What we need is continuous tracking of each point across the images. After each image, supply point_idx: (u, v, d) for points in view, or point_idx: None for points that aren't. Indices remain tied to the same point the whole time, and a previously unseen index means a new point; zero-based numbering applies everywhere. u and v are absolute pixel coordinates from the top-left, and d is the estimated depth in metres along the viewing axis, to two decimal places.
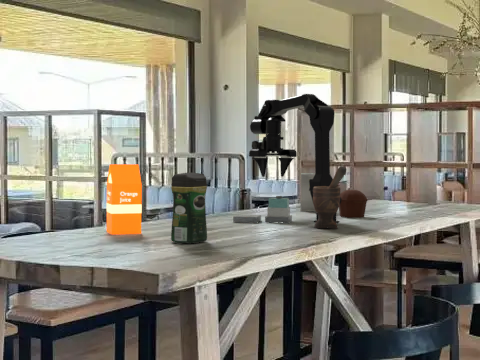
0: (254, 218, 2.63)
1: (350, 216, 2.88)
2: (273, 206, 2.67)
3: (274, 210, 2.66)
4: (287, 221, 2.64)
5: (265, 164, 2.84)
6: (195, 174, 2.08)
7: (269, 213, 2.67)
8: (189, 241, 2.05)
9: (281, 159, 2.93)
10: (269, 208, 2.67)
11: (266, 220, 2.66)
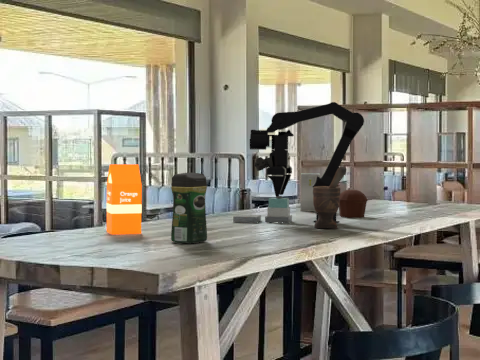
0: (254, 218, 2.63)
1: (350, 216, 2.88)
2: (273, 206, 2.67)
3: (274, 210, 2.66)
4: (287, 221, 2.64)
5: (283, 183, 2.62)
6: (195, 174, 2.08)
7: (269, 213, 2.67)
8: (189, 241, 2.05)
9: None
10: (269, 208, 2.67)
11: (266, 220, 2.66)
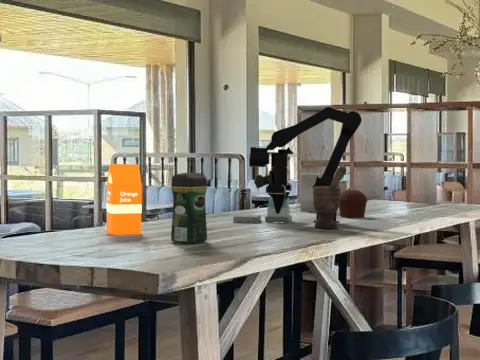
0: (254, 218, 2.63)
1: (350, 216, 2.88)
2: (273, 206, 2.67)
3: (274, 210, 2.66)
4: (287, 221, 2.64)
5: (283, 200, 2.64)
6: (195, 174, 2.08)
7: (269, 213, 2.67)
8: (189, 241, 2.05)
9: None
10: (269, 208, 2.67)
11: (266, 220, 2.66)
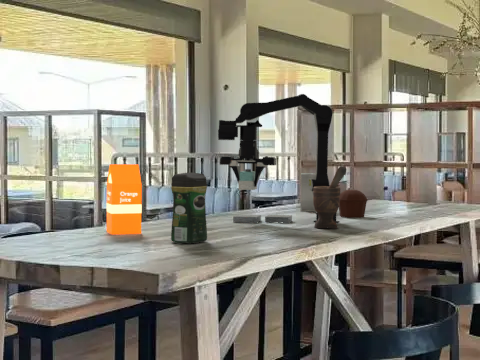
0: (254, 218, 2.63)
1: (350, 216, 2.88)
2: None
3: None
4: (287, 221, 2.64)
5: (236, 173, 2.66)
6: (195, 174, 2.08)
7: None
8: (189, 241, 2.05)
9: None
10: None
11: (266, 220, 2.66)
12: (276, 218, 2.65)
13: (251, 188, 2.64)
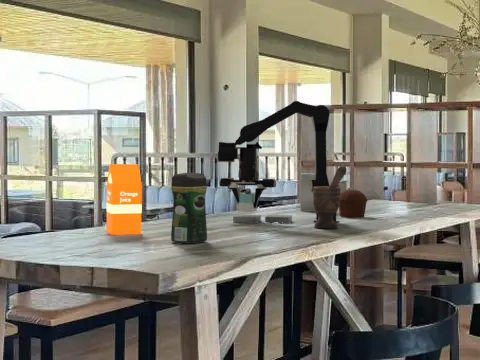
0: (254, 218, 2.63)
1: (350, 216, 2.88)
2: None
3: None
4: (287, 221, 2.64)
5: (236, 194, 2.66)
6: (195, 174, 2.08)
7: None
8: (189, 241, 2.05)
9: None
10: None
11: (266, 220, 2.66)
12: (276, 218, 2.65)
13: (251, 210, 2.64)
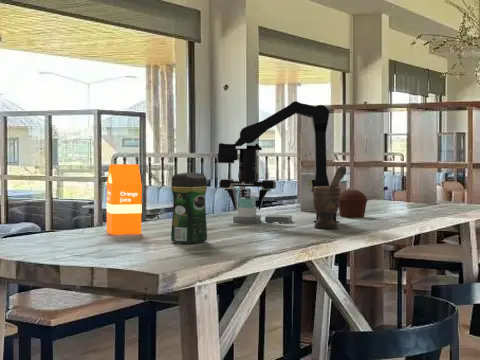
0: (254, 218, 2.63)
1: (350, 216, 2.88)
2: None
3: None
4: (287, 221, 2.64)
5: (231, 196, 2.66)
6: (195, 174, 2.08)
7: None
8: (189, 241, 2.05)
9: None
10: None
11: (266, 220, 2.66)
12: (276, 218, 2.65)
13: (251, 215, 2.64)
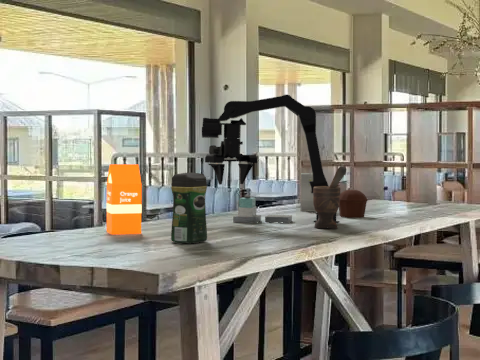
0: (254, 218, 2.63)
1: (350, 216, 2.88)
2: None
3: None
4: (287, 221, 2.64)
5: (222, 171, 2.63)
6: (195, 174, 2.08)
7: None
8: (189, 241, 2.05)
9: (241, 165, 2.72)
10: None
11: (266, 220, 2.66)
12: (276, 218, 2.65)
13: (251, 215, 2.64)
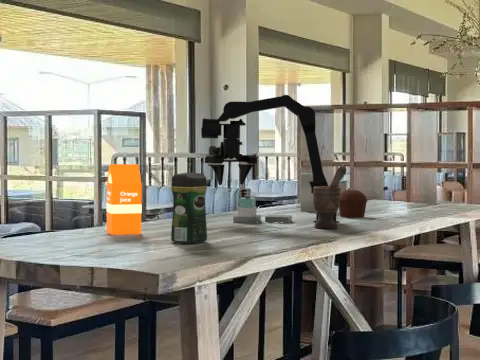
0: (254, 218, 2.63)
1: (350, 216, 2.88)
2: None
3: None
4: (287, 221, 2.64)
5: (222, 171, 2.63)
6: (195, 174, 2.08)
7: None
8: (189, 241, 2.05)
9: (241, 166, 2.72)
10: None
11: (266, 220, 2.66)
12: (276, 218, 2.65)
13: (251, 215, 2.64)
